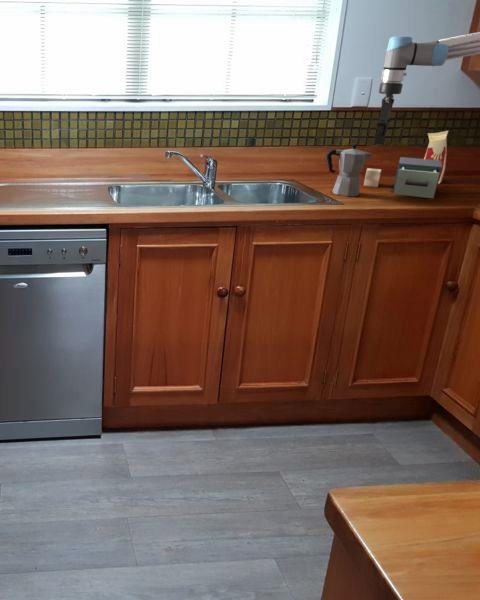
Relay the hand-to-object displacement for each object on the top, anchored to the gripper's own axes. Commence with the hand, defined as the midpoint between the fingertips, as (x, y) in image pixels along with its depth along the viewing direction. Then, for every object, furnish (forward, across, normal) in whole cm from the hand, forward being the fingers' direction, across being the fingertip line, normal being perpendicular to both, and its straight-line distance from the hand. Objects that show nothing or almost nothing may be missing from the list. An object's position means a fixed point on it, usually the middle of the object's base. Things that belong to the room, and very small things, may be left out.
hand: (379, 141), depth 231 cm
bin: (+16, -14, -15) cm, 26 cm away
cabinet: (+17, -2, -15) cm, 23 cm away
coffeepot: (+17, -22, +8) cm, 29 cm away
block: (+17, 0, 0) cm, 17 cm away
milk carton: (+17, +23, -20) cm, 35 cm away
